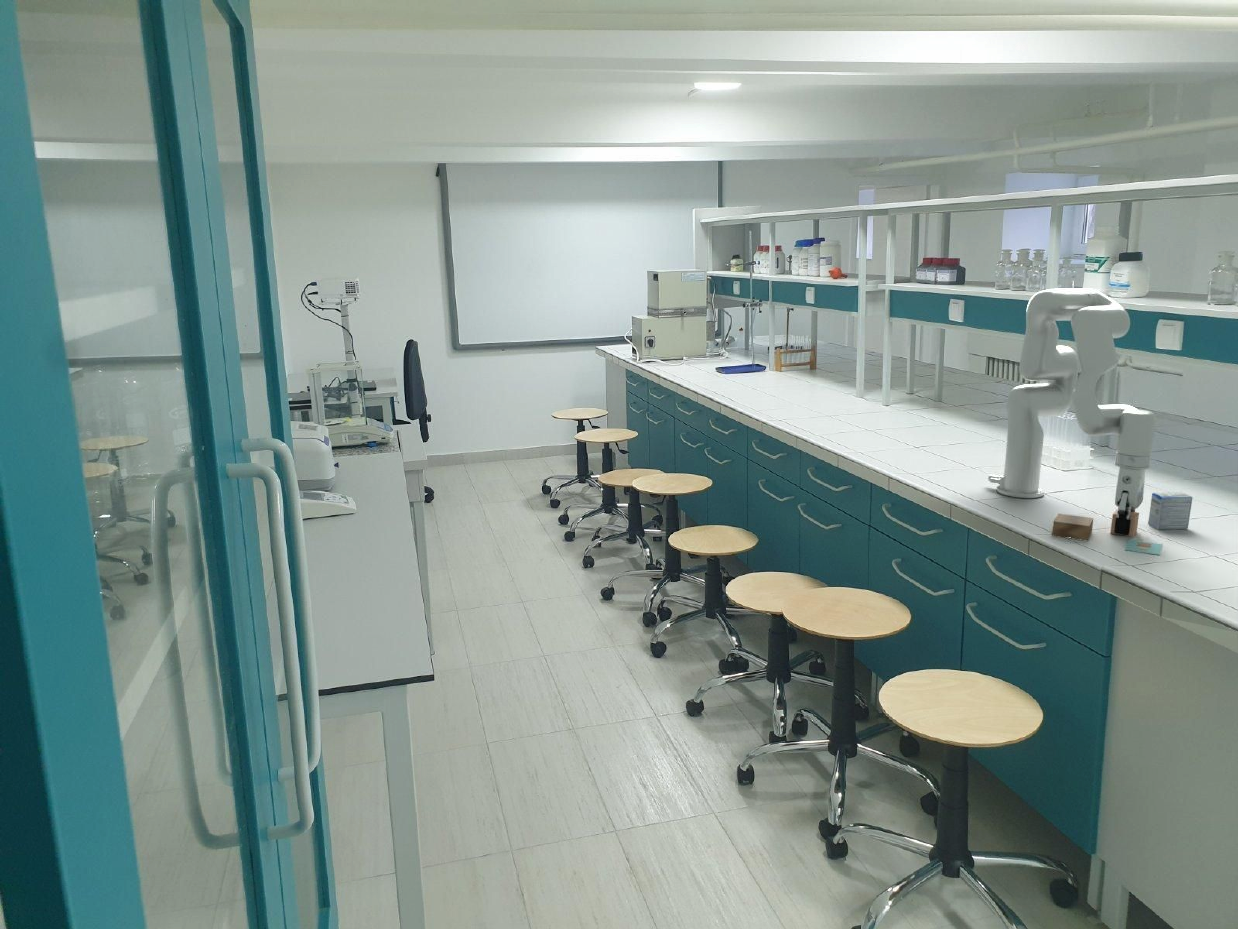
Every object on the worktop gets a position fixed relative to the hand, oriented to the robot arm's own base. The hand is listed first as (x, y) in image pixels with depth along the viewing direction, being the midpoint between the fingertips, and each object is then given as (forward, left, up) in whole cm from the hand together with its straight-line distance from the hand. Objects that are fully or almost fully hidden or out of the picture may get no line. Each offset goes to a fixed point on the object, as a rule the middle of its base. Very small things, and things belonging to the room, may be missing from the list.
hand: (1123, 530), depth 228 cm
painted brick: (0, 0, -1) cm, 1 cm away
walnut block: (-10, -9, -1) cm, 13 cm away
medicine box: (+8, +12, -1) cm, 14 cm away
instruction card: (+6, -10, -1) cm, 12 cm away
